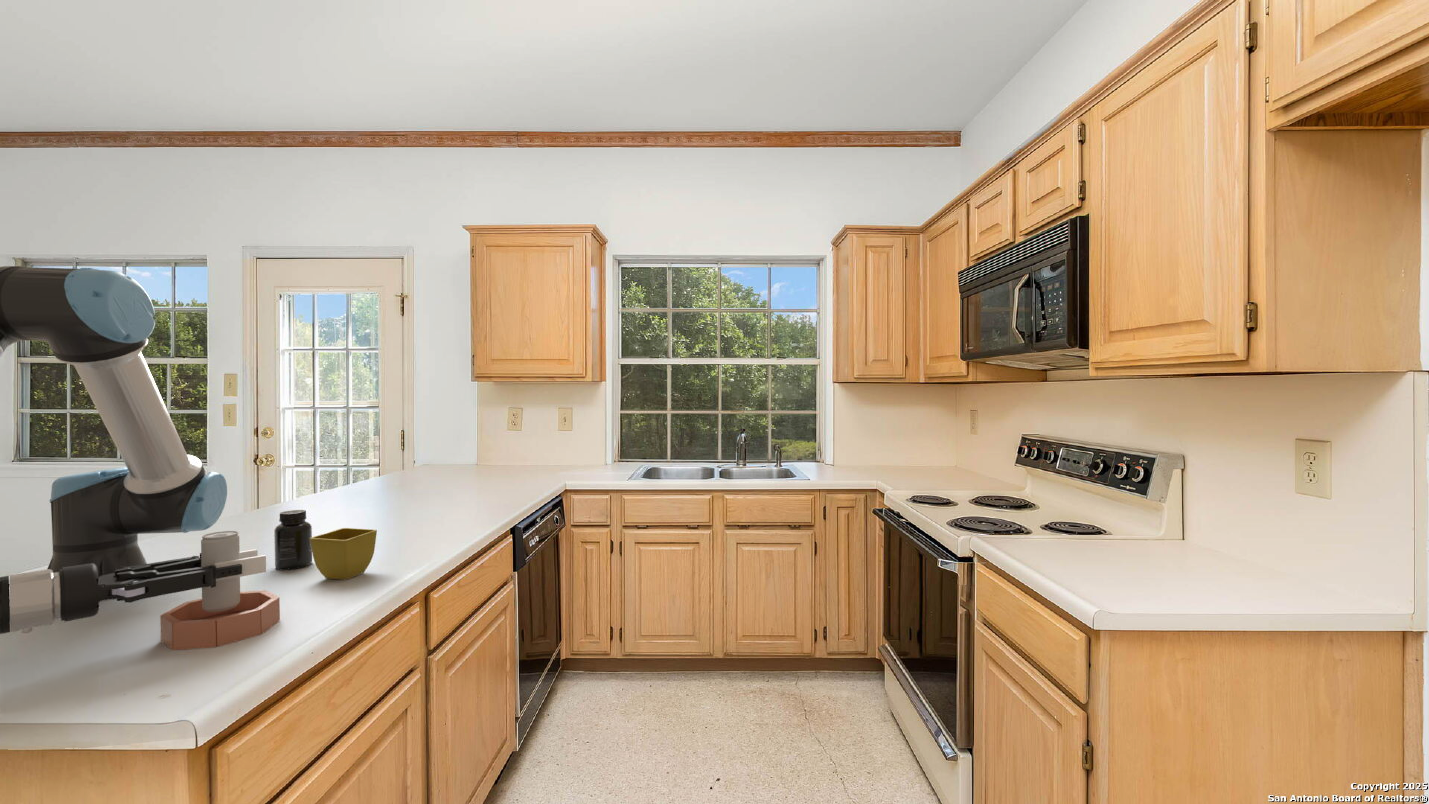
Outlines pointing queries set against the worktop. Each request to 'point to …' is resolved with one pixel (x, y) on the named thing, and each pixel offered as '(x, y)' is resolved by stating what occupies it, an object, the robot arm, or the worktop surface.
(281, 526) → the supplement bottle
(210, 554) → the beverage can
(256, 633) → the terracotta bowl
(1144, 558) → the worktop surface
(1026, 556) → the worktop surface
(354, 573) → the flower pot
